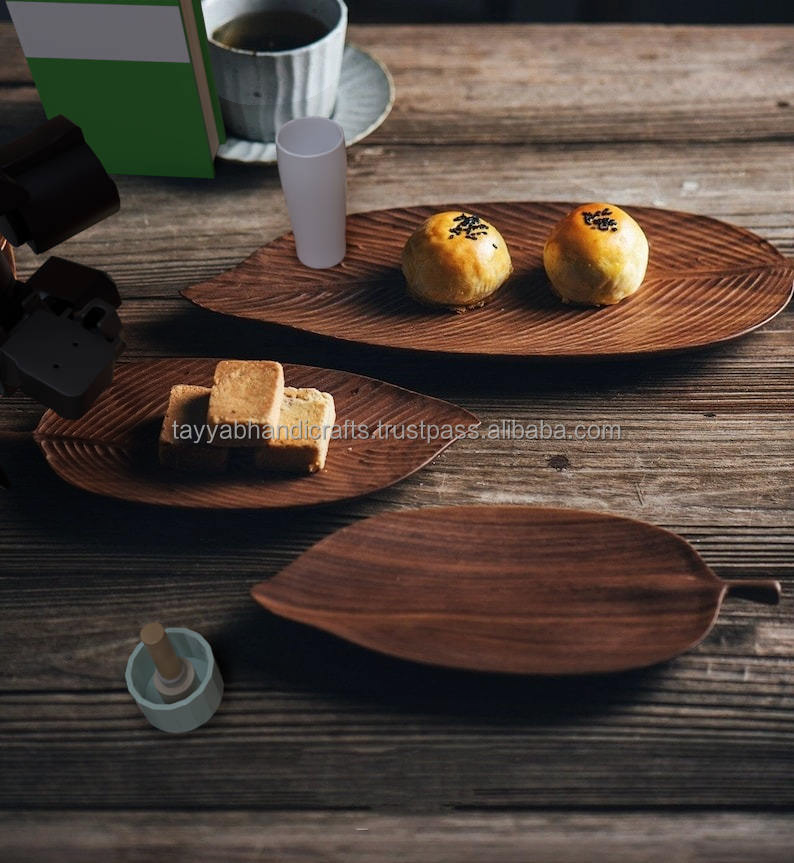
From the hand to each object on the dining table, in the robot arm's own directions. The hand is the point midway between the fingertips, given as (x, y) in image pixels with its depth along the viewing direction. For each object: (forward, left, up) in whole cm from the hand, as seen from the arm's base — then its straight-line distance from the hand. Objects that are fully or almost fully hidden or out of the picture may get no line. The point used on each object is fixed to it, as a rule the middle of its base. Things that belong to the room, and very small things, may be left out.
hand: (44, 439), depth 69 cm
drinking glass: (+29, +26, -13) cm, 41 cm away
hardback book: (+15, +50, -13) cm, 54 cm away
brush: (+4, -17, -12) cm, 21 cm away
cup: (+4, -17, -13) cm, 22 cm away
